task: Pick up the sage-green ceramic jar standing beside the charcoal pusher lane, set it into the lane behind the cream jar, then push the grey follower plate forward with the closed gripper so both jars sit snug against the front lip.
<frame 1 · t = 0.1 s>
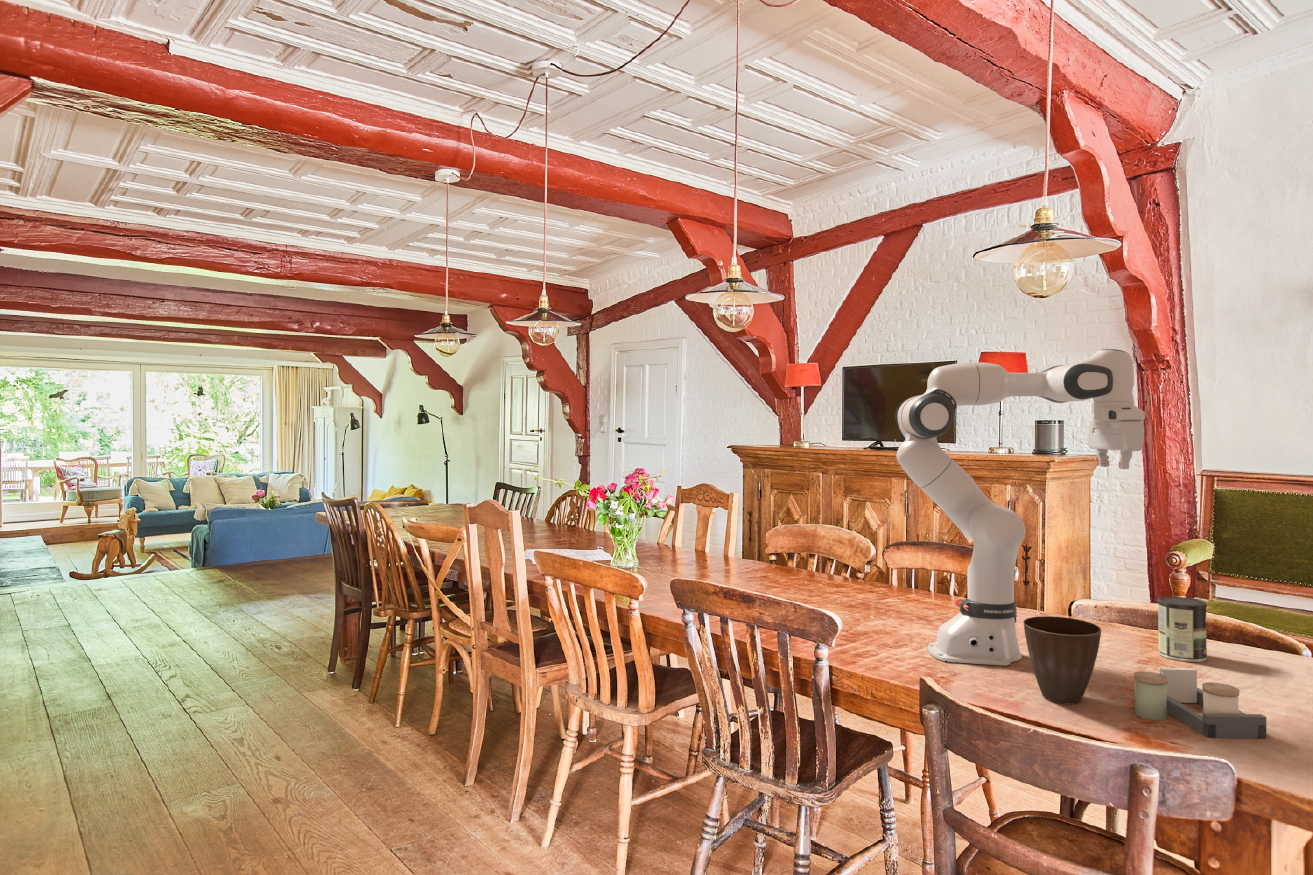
hand: (1113, 467, 193), 48 cm above the table, tool pointing down, fingers open, 8 cm apart
coffee can: (1181, 656, 192), on the table
follower: (1174, 683, 162), point 4 cm above the table, slide at 0.0 cm
cream jar: (1220, 728, 148), resting in lane
plant pot: (1061, 699, 165), on the table
lane: (1202, 717, 153), on the table
sage jar: (1150, 714, 155), on the table
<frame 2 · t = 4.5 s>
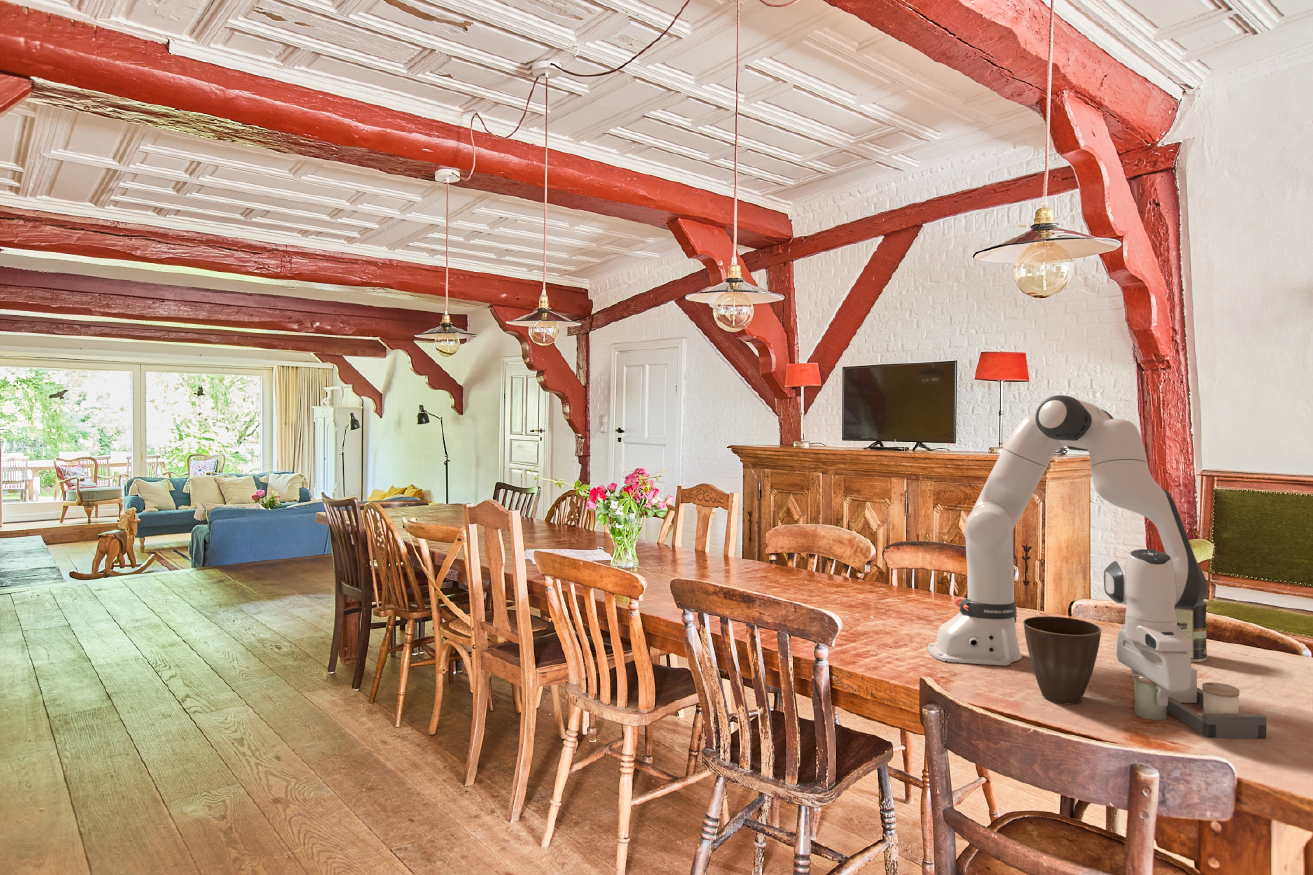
hand: (1151, 698, 155), 3 cm above the table, tool pointing down, fingers closed on sage jar, 5 cm apart
sage jar: (1150, 714, 155), on the table, touching gripper
everything else where it was.
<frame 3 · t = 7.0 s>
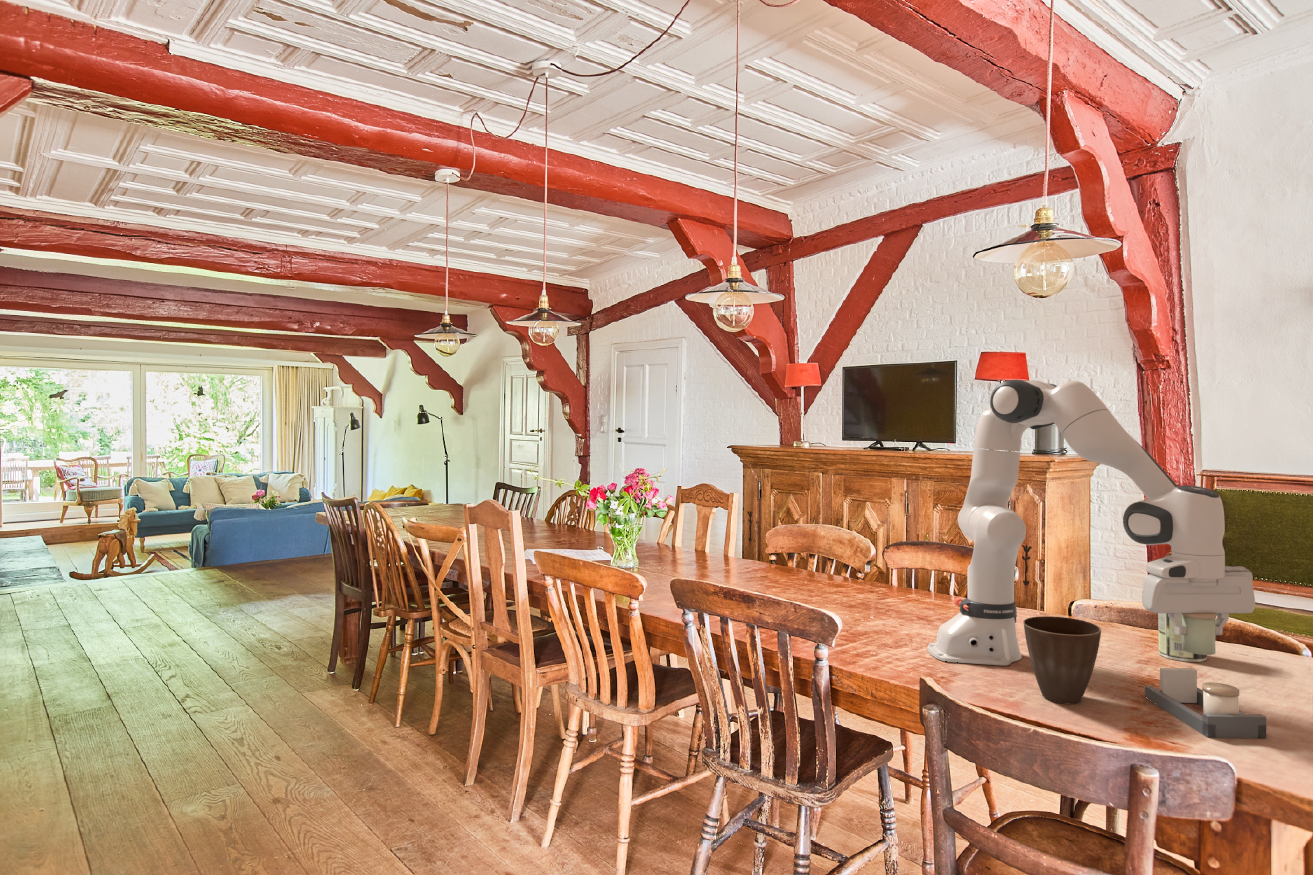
hand: (1198, 634, 154), 16 cm above the table, tool pointing down, fingers closed on sage jar, 5 cm apart
sage jar: (1198, 650, 154), point 13 cm above the table, touching gripper
everything else where it was.
when the fingers open (4 cm above the table, at t = 9.5 s): sage jar stays where it is, resting in lane.
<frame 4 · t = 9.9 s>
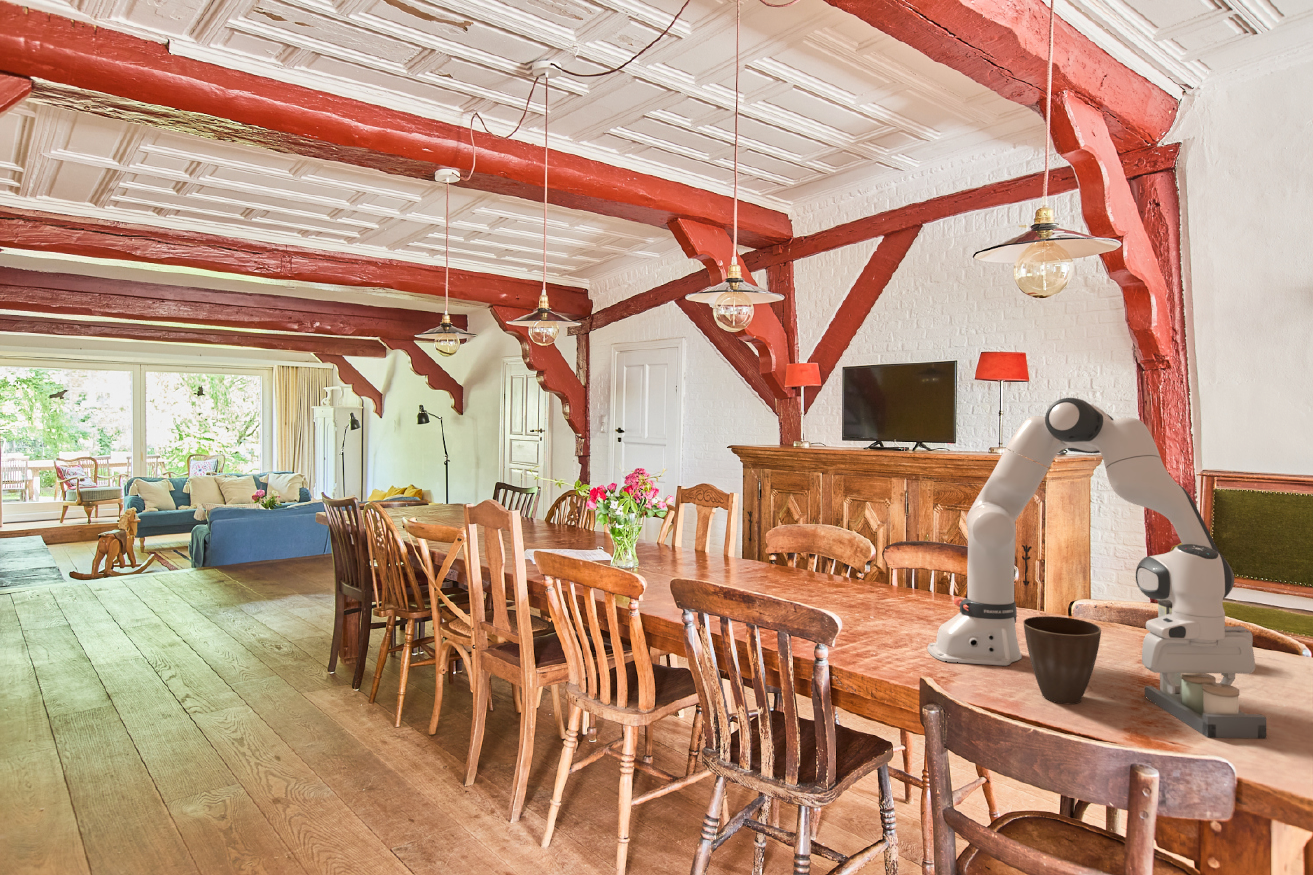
hand: (1197, 693, 155), 4 cm above the table, tool pointing down, fingers open, 8 cm apart
sage jar: (1197, 714, 155), resting in lane
everything else where it was.
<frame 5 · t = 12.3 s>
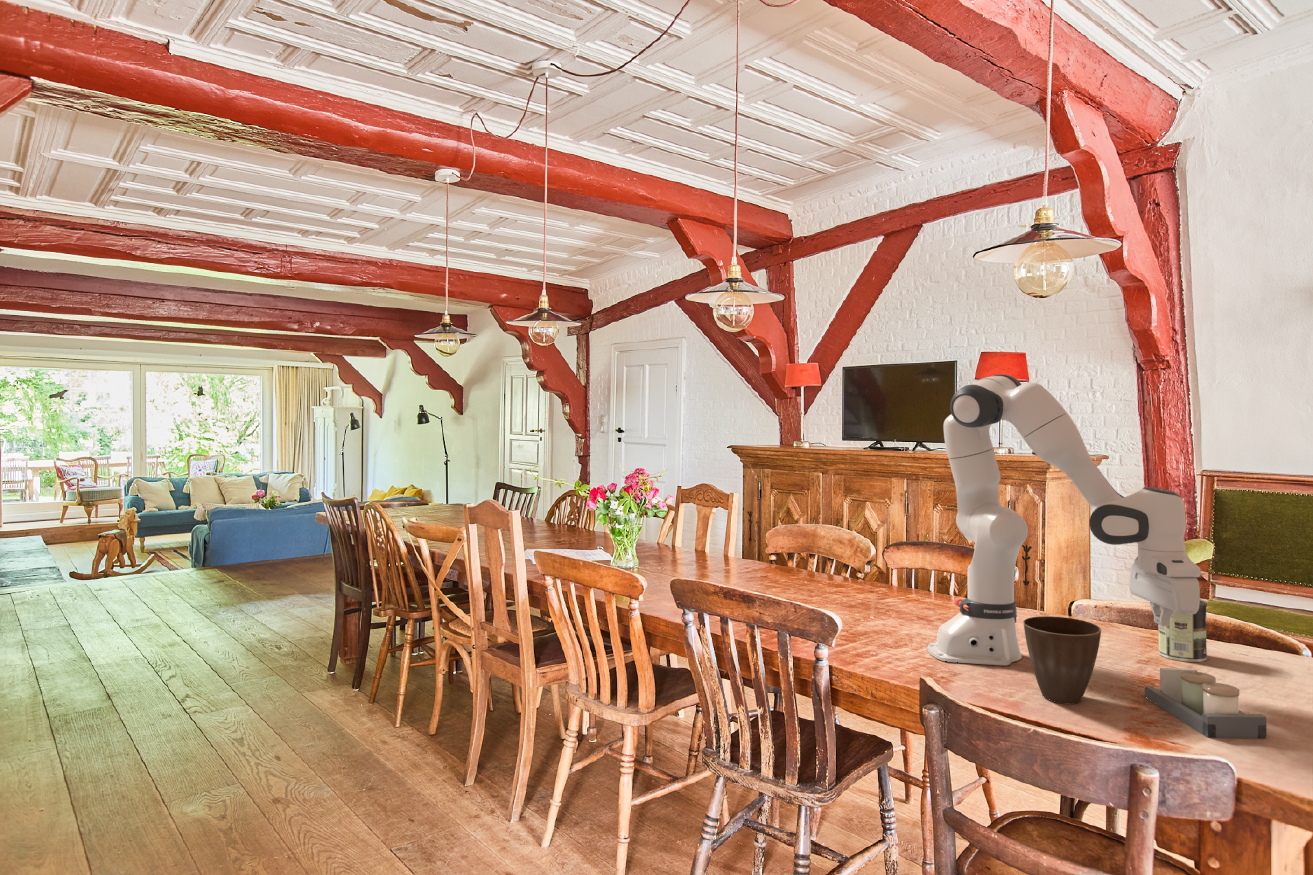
hand: (1161, 624, 167), 15 cm above the table, tool pointing down, fingers closed
nothing on the table moved.
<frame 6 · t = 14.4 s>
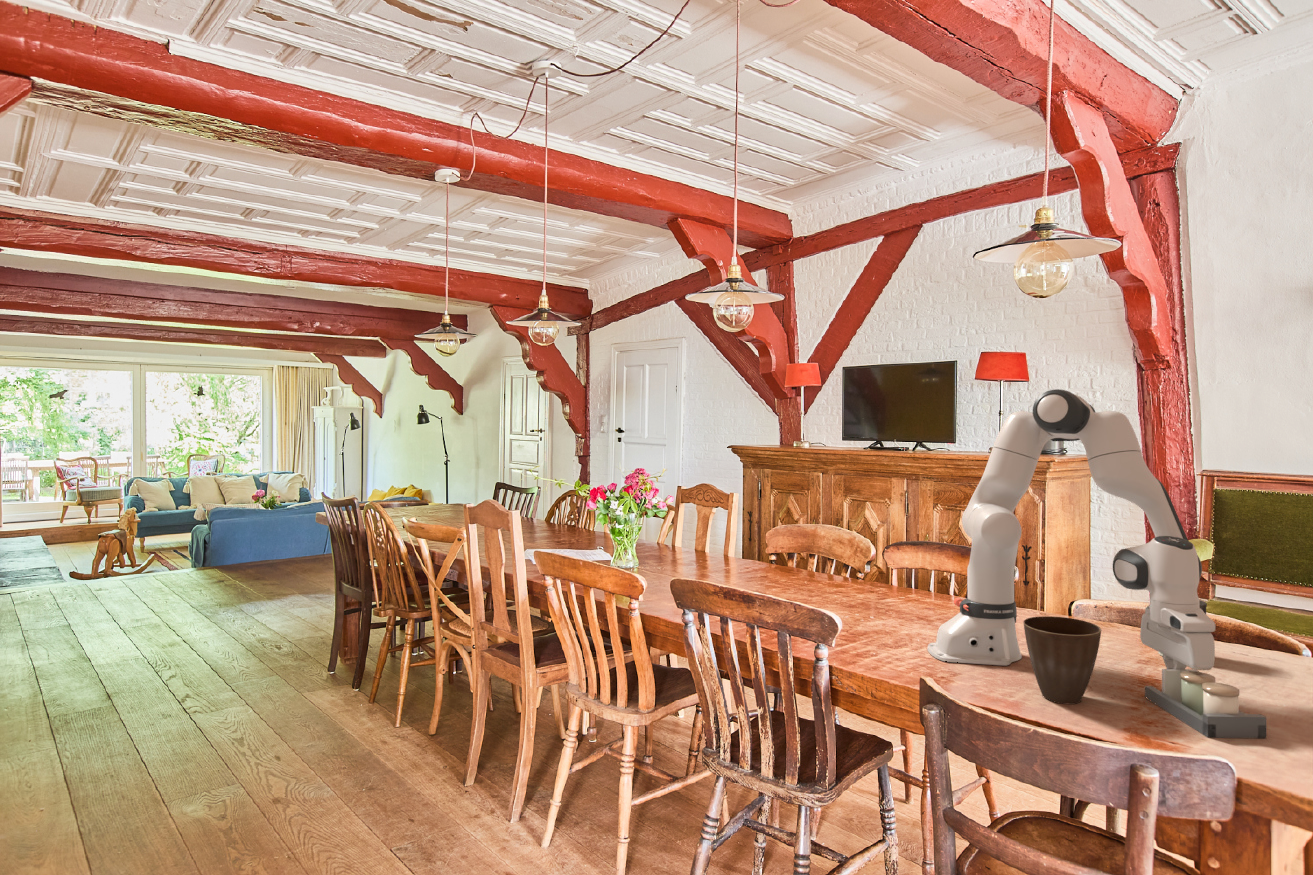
hand: (1174, 677, 163), 5 cm above the table, tool pointing down, fingers closed
follower: (1176, 684, 162), point 4 cm above the table, slide at 0.7 cm, touching gripper
everything else where it was.
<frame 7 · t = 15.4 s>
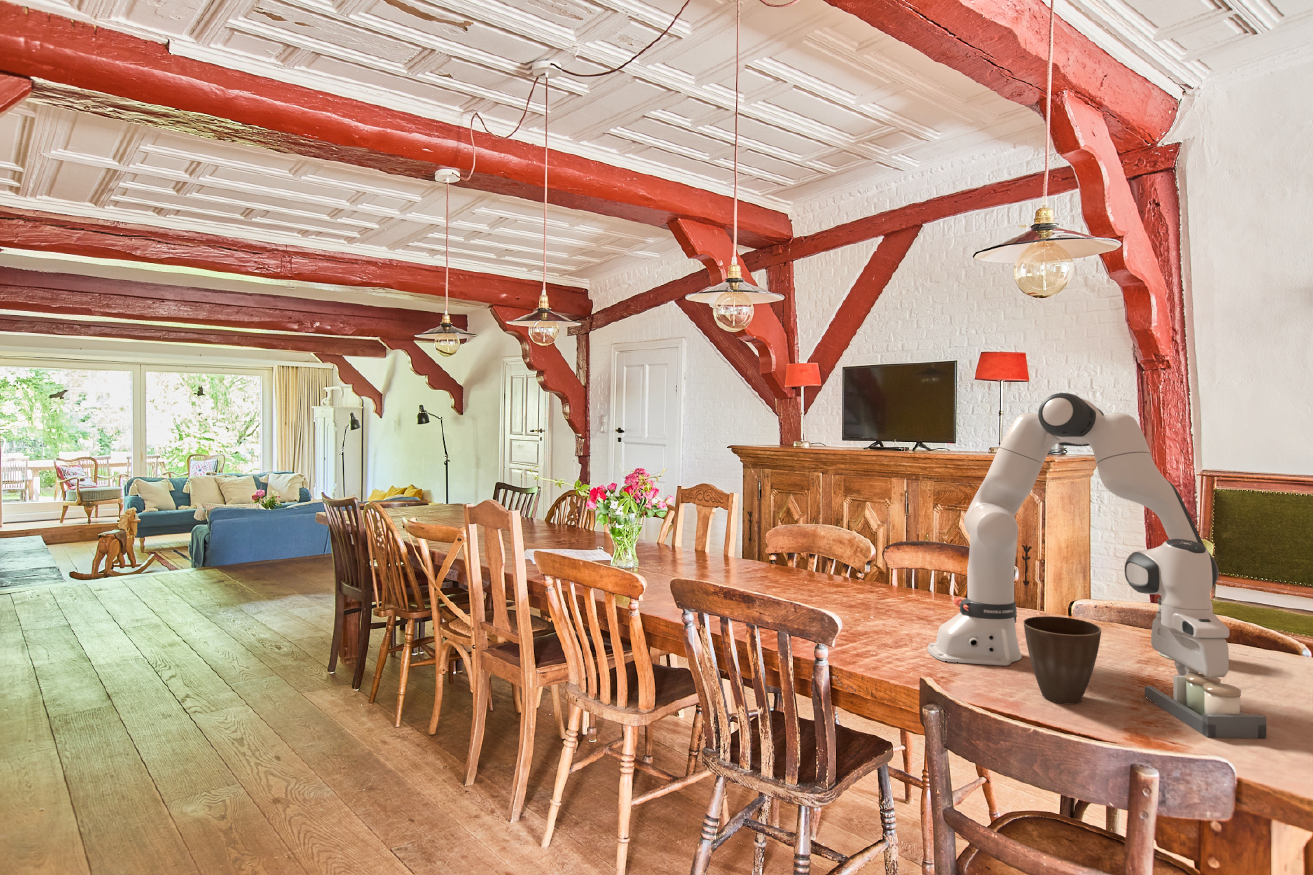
hand: (1187, 684, 159), 5 cm above the table, tool pointing down, fingers closed
follower: (1188, 691, 158), point 4 cm above the table, slide at 4.8 cm, touching gripper, sage jar
cream jar: (1221, 728, 147), resting in lane, touching sage jar
sage jar: (1203, 717, 153), resting in lane, touching cream jar, follower
everything else where it was.
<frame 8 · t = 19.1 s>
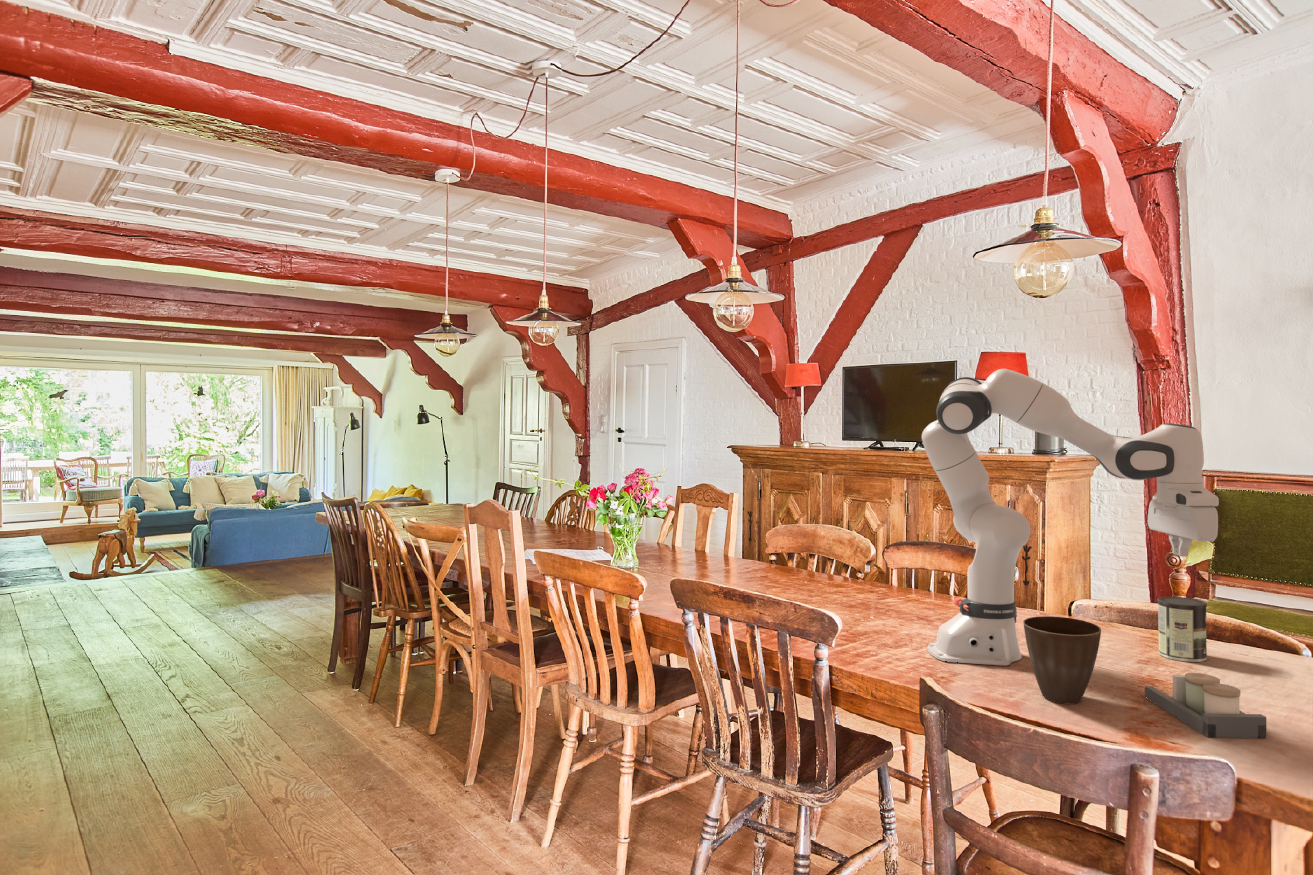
hand: (1180, 555, 173), 29 cm above the table, tool pointing down, fingers closed
follower: (1188, 690, 158), point 4 cm above the table, slide at 4.6 cm, touching sage jar
cream jar: (1221, 728, 147), resting in lane
sage jar: (1202, 716, 153), resting in lane, touching follower
everything else where it was.
at the end: sage jar 0.8 cm from the target spot on the lane, point 0.0 cm above the lane's base; sage jar tilted 0°; follower slide at 4.6 cm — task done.
